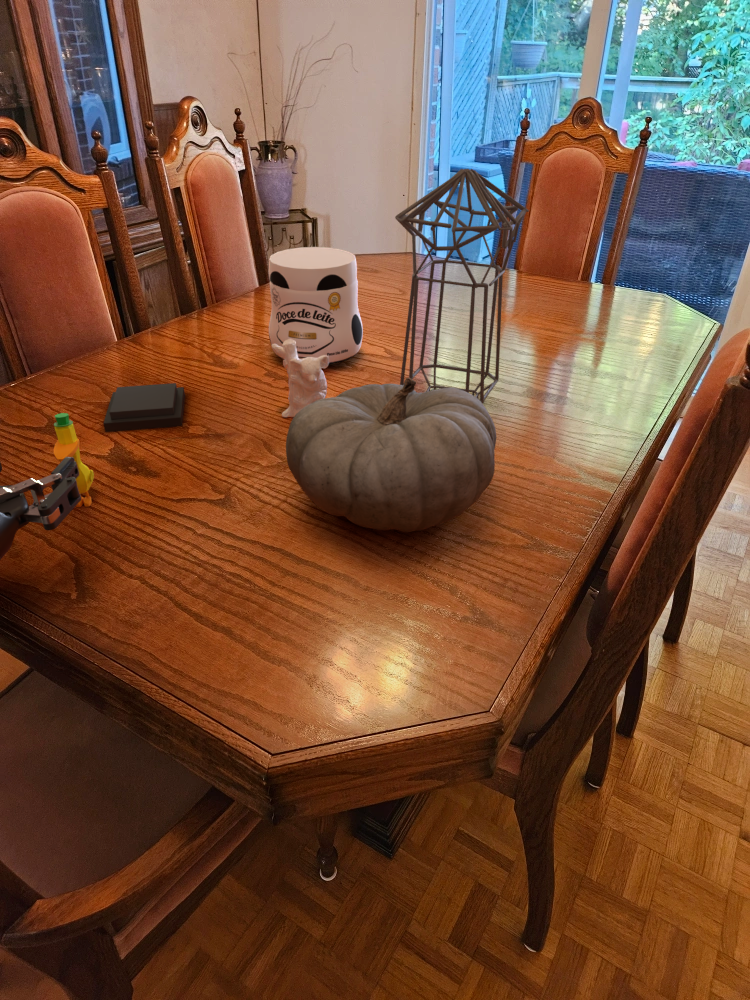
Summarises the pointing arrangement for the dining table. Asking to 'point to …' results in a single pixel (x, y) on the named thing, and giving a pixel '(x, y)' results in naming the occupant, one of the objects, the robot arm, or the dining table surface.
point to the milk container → (315, 302)
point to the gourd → (393, 454)
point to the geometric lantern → (484, 197)
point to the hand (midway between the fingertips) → (34, 462)
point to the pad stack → (145, 407)
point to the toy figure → (72, 454)
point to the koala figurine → (302, 377)
